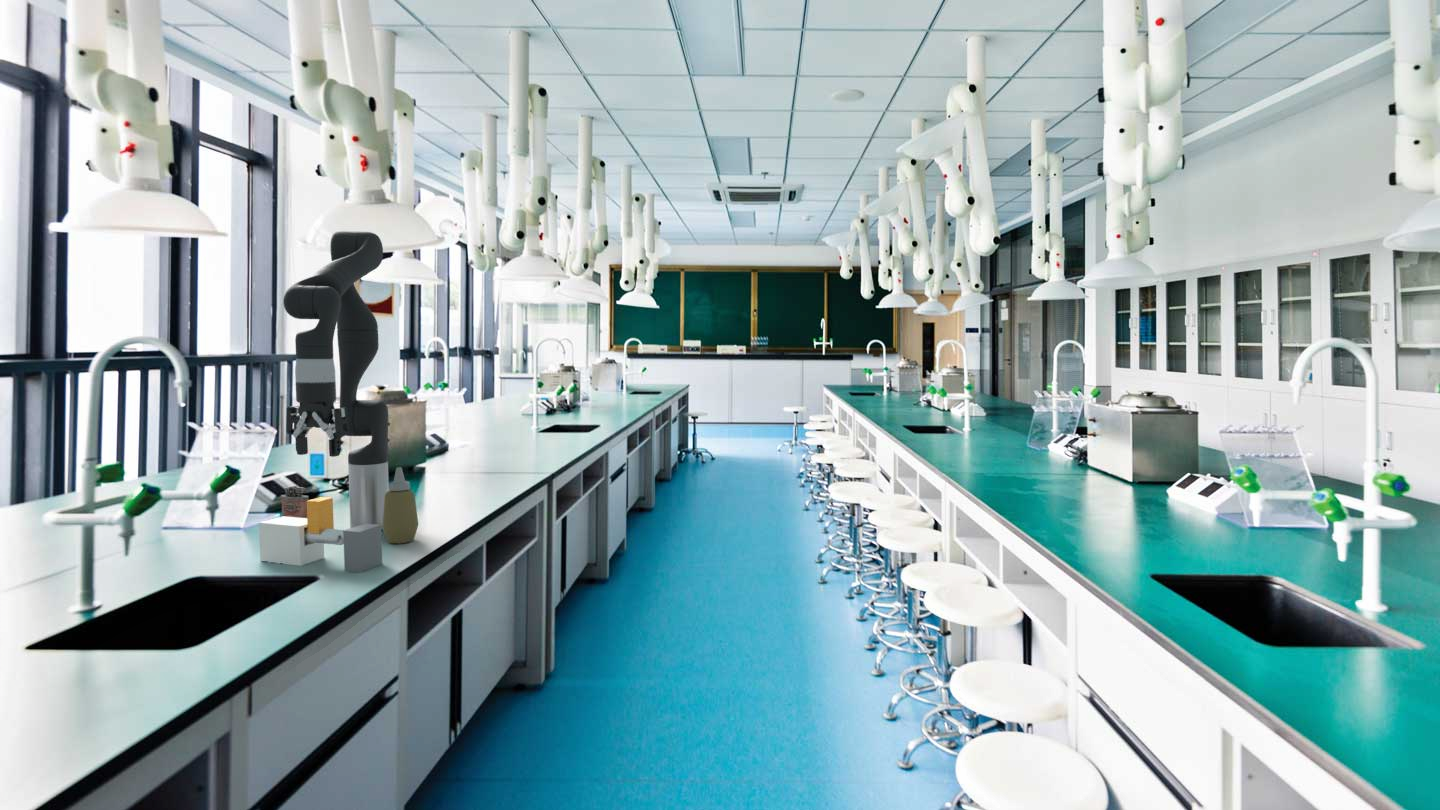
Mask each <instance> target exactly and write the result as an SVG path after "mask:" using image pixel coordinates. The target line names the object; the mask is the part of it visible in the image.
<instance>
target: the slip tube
mask: <svg viewBox="0 0 1440 810" xmlns="http://www.w3.org/2000/svg"><path fill="white" fill-rule="evenodd" d="M307 523H308V527H305V528H304V542H314V543H324V545H325V544H326V545H333V546H334V545H335V546H344V534H343V531H344V530H345V529H335V527H334V524H335V523H334V500H333V497H324V496H320V497H316V498H313V499H308V501H307Z"/></svg>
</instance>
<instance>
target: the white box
mask: <svg viewBox="0 0 1440 810" xmlns="http://www.w3.org/2000/svg"><path fill="white" fill-rule="evenodd" d="M305 527H308V523H307V518H298V517H287V516H279V517H275V518H272V519H267V520H263V521H259V522H258V537H259V538H258V539H259V559H260V560H259V561H260V562H262V561H268V562H267V563H271V562H276V563H275V564H280V563H283V565H291V566H299V567H301V566H305V565H307V564H309V563H314V562H316V561H320V560H322V559H324V558H325V544H324V543H314V542H304V528H305Z"/></svg>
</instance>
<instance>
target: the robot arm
mask: <svg viewBox="0 0 1440 810" xmlns="http://www.w3.org/2000/svg"><path fill="white" fill-rule="evenodd" d="M330 239H331V240H330V249H329V250H330V257H331V258H330V259H331V261H329V262H327V263H325V264H324V265H322V266H321V267H320V268H318V270H317V271H316V272H315V273H314V274H313V275H312V276H309V277H306V278H304V279H302V280H300V281H298V282H295V283H293V284H292V285H291V286H290V287H289V288H287V290H286V292H285V293H284V296H283V302H282V303H283V307H284V309H285V312H286V313H287V314H288V316H291V317H292V318H294V319H298V320H318V322H317V324H316V326H315V327H314V328H312V329H307V330H303V331H299V332H297V333H296V335H295V338H294V339H295V340H294V341H295V368H294V373H295V375H294V376H295V398H296V399H295V400H296V403H299V405H293V406H292V405H291V406H287V407H286V426H285V427H286V431H285V432H286V434H288V435H292V436H293V437H294V439H295V451H296V454H297V455H298V456H302V455H303V456H304V455H307V454H308V453H309V449H308V436H307V435H308V433H309V431H310V430H311V429H313V428H316V429H317V428H318V429H321V430H322V432H325V433H326V435H327V436H328V438H329V439H328V454H329V457H333V458H334V457H339V456H340V455H341V453H342V438H344V437H345V436H346V437H371V441H370V443H368V444H367V445H365V446H363V447H359V448H357V449H354V450H352V451H350V452H349V453H348V454H347V456H348V457H347V460H348V461H347V463H348V466H347V467H348V492H349V493H348V495H349V497H348V499H349V525H350V526H349V527H350V528H353V527H357V526H360V525H363V524H376V525H381V531H383V529H382V525H383V513H384V500H385V494H386V493H387V492H389V491H390V490H389V483H390V482H389V457H388V456H389V408H388V406H387V403H386V402H385V400H382V399H365V400H363V399H357V394H358V387H359V385H360V381H361V379H362V377H363V376H364V374H365V372H366V371H367V369H368V367H369V366H370V365H371V363H372V361H373V360H374V359H375V357H376V355H377V354H378V353H377V352H378V350H379V346H380V345H379V330H378V329H379V327H378V321H377V319H376V317H375V316H374V314H373V311H372V310H371V309H370V308H369V306H368V305H367V304H366V303H365V301H364V300H363V298H362V296H361V295H360V294H359V292H358V290H357V288H356V286H355V283H356V282H357V281H359V280H360V279H362V278H363V277H364V276H366V275H368V274H369V273H371V272H372V271H375V270H377V268H378V267H379V266H380V265H381V264H382V261H383V259H384V257H383V256H384V248H383V243H382V240H381V238H380V237H379V235H377V234H376V233H374V232H372V231H371V232H370V231H355V230H354V231H352V230H351V231H349V230H337V231H335V232H333V233H332V235H331V238H330ZM335 331H336V332H337V335H336V337H337V346H338V347H337V348H338V359H339V374H340V376H339V378H340V380H339V383H340V384H339V385H340V386H339V407H338V408H336V407H335V404H334V403H335V402H336V401H337V387H336V386H337V383H336V368H335V362H334V360H335V359H334V338H335V337H334V336H335V333H336V332H335ZM350 528H349V529H350Z"/></svg>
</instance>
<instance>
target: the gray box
mask: <svg viewBox="0 0 1440 810" xmlns="http://www.w3.org/2000/svg"><path fill="white" fill-rule="evenodd" d="M343 530H344V531H343V534H344V544H343V558H344V559H343V560H344V561H343V564H344V571H345V572H350V573H351V572H352V573H362V572H365V571H369V570H370V569H374V568H375V567H378V566H380V565H383V546H382V545H383V543H382V535H383V534H382V530H381V525H376V524H363V525H360V526H357V527H353V528H348V529H343Z"/></svg>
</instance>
